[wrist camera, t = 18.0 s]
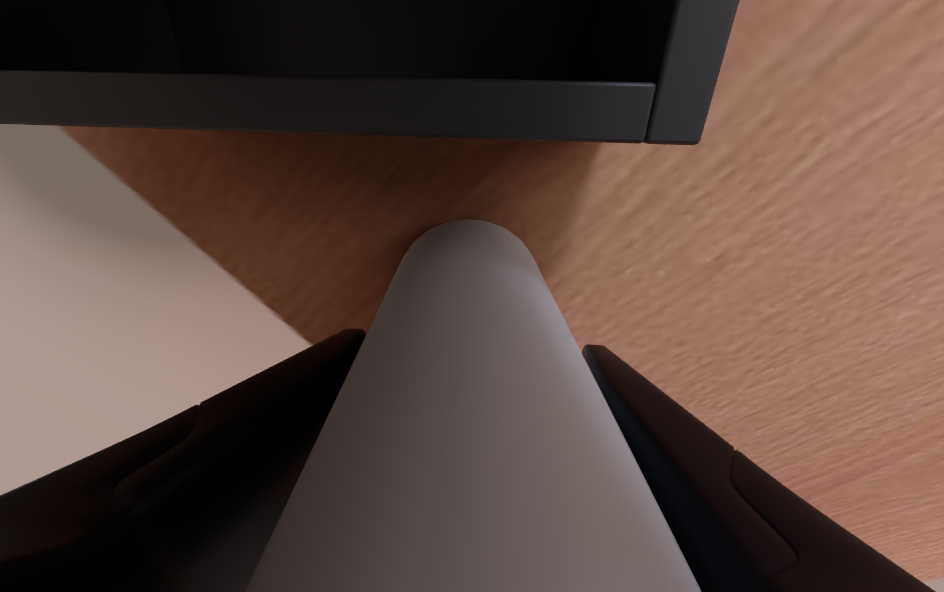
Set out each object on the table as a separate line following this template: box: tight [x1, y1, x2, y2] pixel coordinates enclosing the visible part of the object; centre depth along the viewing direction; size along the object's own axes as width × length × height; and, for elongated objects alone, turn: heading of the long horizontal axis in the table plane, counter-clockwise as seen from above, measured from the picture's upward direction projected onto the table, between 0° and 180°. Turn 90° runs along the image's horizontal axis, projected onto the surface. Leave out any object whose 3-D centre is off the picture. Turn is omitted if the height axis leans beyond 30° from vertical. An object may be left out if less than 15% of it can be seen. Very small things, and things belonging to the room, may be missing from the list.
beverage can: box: [245, 219, 701, 592], centre depth 8 cm, size 5×5×12 cm
